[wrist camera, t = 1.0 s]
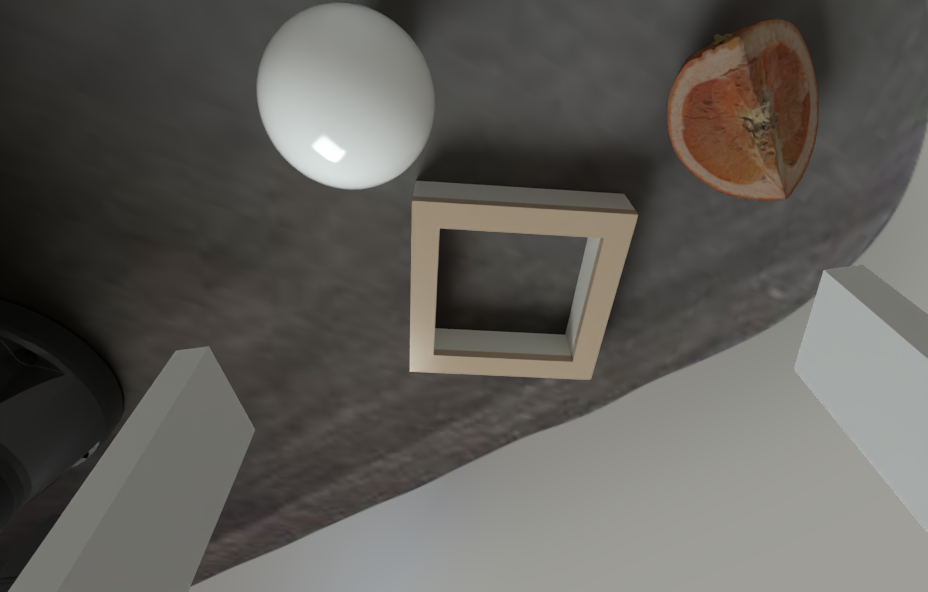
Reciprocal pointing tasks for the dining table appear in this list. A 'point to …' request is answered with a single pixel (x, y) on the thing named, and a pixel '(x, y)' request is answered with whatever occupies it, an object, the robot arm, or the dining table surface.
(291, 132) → the lightbulb
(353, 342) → the dining table surface
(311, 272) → the dining table surface
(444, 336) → the square frame
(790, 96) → the fruit slice
